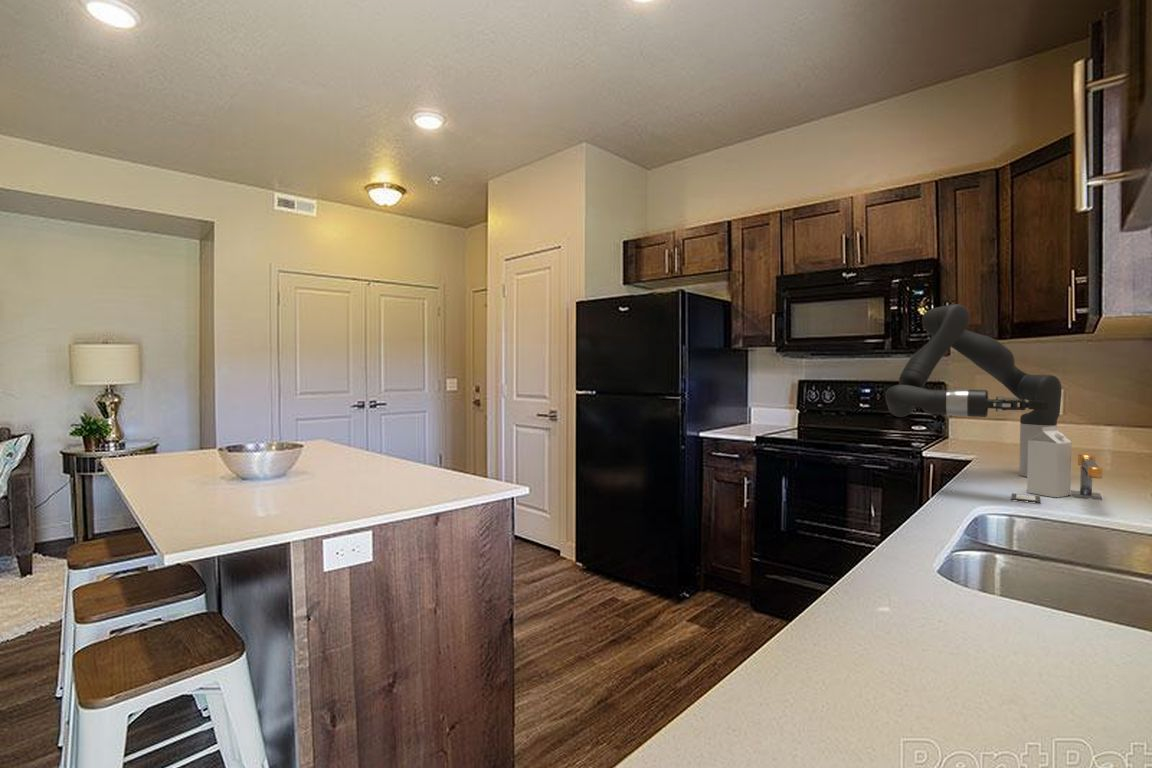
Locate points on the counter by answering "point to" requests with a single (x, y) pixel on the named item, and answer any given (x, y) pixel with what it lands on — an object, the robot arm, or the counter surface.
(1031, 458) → the milk carton
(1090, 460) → the swing arm
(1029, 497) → the label plate
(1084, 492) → the pivot post
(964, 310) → the robot arm
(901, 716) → the counter surface
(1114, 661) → the counter surface
